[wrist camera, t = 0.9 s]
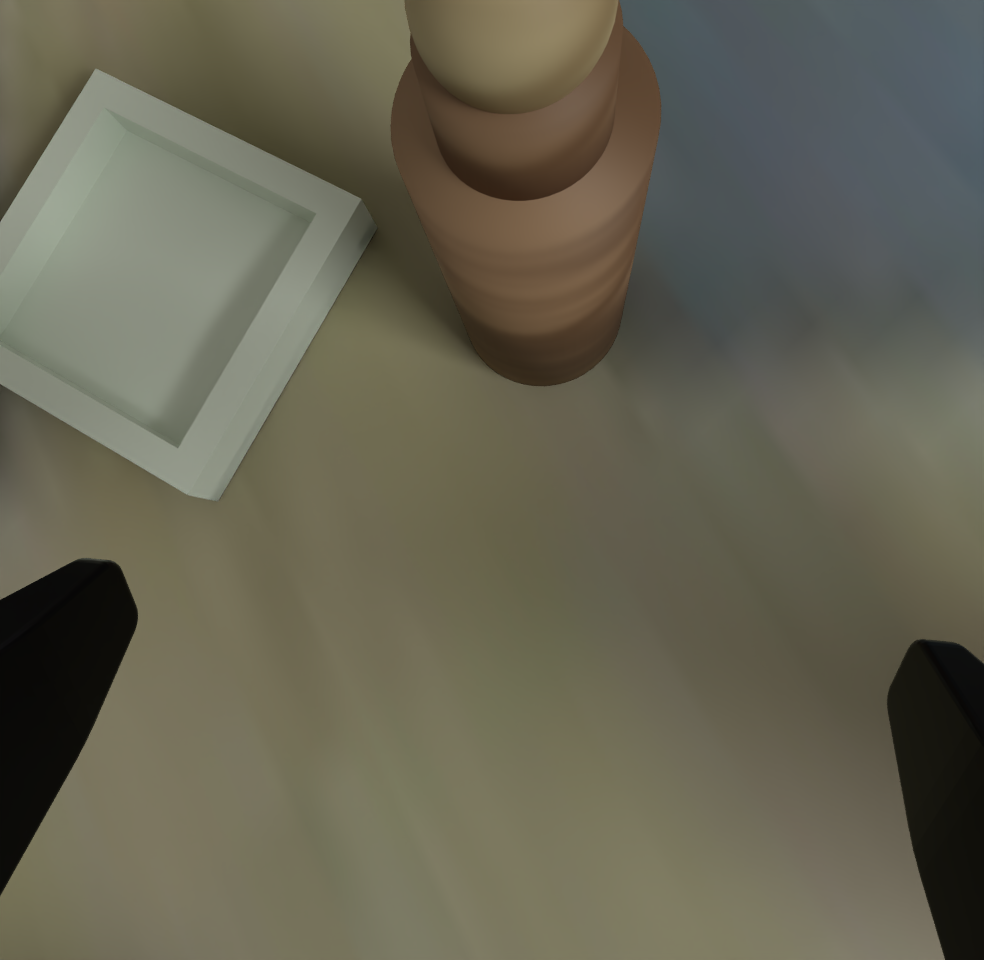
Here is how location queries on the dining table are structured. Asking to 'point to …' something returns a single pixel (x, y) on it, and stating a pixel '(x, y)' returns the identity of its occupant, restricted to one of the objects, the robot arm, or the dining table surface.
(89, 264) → the keeper dish
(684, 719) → the dining table surface
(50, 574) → the robot arm
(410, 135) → the pepper mill
